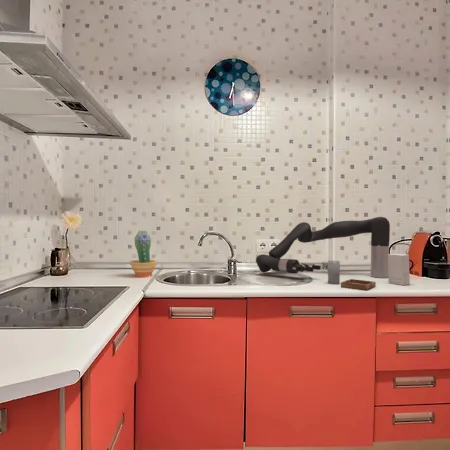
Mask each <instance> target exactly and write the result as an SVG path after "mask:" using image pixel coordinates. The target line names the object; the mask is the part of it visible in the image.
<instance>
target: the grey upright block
mask: <svg viewBox="0 0 450 450" xmlns="http://www.w3.org/2000/svg"><path fill="white" fill-rule="evenodd" d="M340 268H341V261H340V260H328V261H327V284H329V285H341V280H340V279H341V276H340V275H341V269H340Z"/></svg>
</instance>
